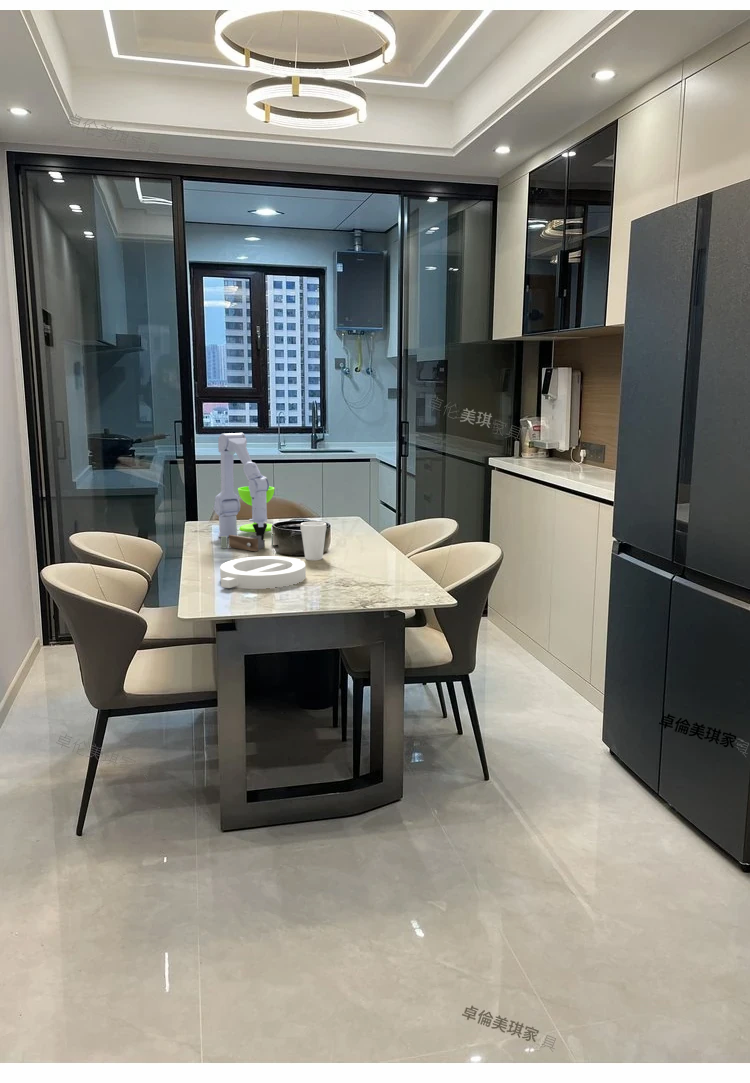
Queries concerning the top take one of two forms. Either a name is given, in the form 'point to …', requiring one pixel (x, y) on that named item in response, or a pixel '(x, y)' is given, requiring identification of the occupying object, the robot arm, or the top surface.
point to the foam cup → (313, 539)
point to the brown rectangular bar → (243, 542)
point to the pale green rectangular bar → (224, 541)
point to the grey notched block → (259, 541)
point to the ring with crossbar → (262, 572)
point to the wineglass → (247, 498)
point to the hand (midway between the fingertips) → (260, 541)
